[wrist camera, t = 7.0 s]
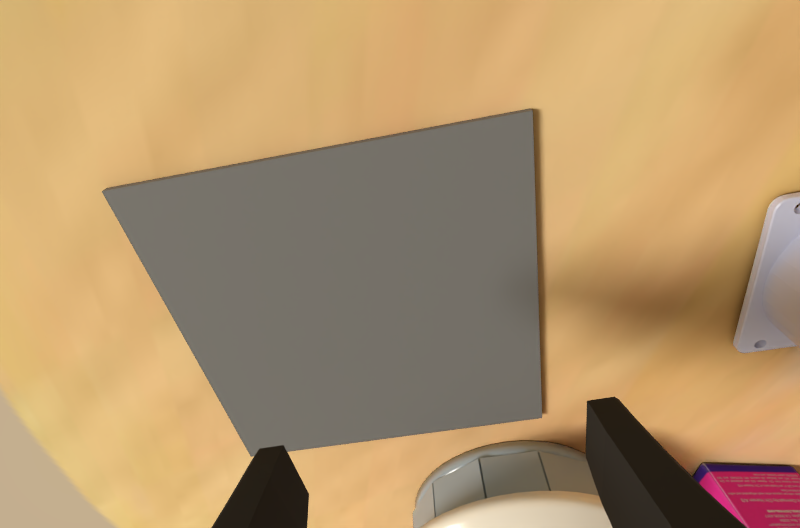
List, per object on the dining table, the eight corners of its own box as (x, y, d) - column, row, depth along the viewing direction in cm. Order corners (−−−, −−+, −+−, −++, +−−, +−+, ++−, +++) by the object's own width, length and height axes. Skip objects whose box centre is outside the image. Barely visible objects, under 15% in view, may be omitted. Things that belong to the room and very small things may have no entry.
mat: (530, 108, 16) (532, 110, 16) (540, 413, 24) (542, 417, 24) (105, 188, 17) (101, 191, 17) (252, 451, 26) (250, 456, 25)
